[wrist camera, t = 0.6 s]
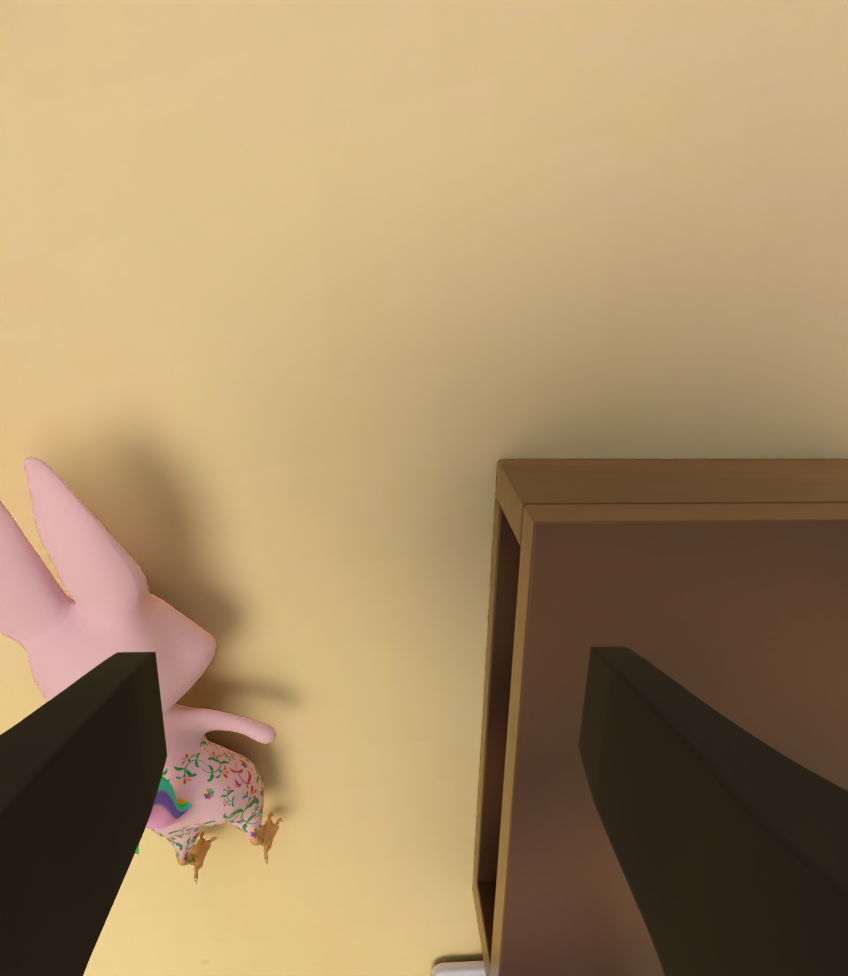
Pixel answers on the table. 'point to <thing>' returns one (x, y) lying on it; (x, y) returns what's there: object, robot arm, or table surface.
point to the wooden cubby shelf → (661, 641)
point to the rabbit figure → (127, 628)
